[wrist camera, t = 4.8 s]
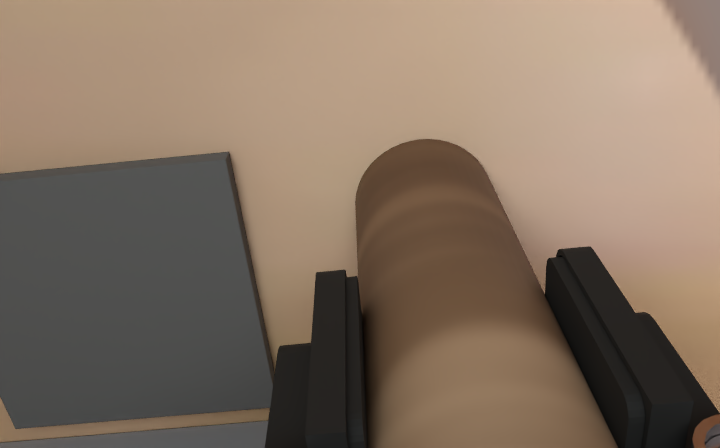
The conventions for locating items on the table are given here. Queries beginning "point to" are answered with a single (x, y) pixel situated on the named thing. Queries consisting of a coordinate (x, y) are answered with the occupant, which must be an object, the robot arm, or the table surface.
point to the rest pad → (128, 294)
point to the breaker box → (163, 438)
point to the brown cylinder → (458, 316)
